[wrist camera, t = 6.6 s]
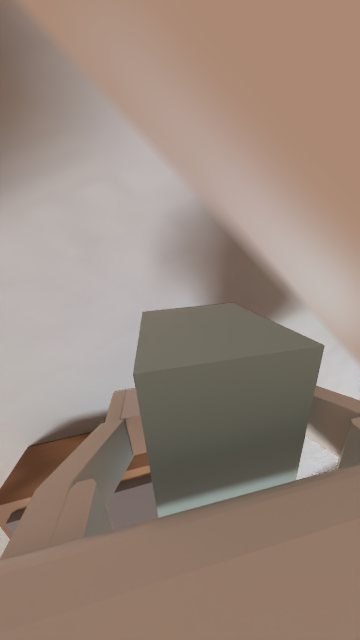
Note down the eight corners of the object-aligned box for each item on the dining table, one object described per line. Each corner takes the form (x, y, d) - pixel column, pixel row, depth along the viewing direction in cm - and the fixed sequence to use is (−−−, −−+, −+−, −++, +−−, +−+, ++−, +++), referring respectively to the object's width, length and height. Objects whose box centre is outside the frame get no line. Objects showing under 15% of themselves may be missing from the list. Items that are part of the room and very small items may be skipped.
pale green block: (232, 302, 9) (324, 345, 4) (229, 410, 11) (287, 518, 6) (142, 311, 8) (133, 373, 4) (158, 424, 10) (164, 553, 6)
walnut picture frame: (187, 409, 17) (201, 458, 13) (198, 500, 21) (211, 558, 17) (27, 447, 15) (-20, 519, 11) (76, 538, 19) (56, 615, 15)
